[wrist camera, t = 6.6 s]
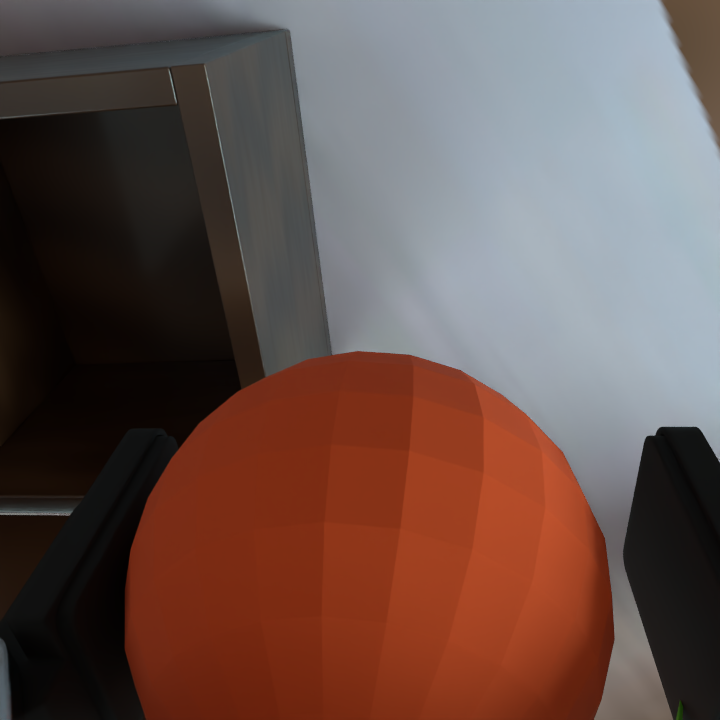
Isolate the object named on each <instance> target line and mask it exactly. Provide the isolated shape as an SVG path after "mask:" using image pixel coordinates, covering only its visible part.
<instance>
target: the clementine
mask: <svg viewBox="0 0 720 720" xmlns="http://www.w3.org/2000/svg"><path fill="white" fill-rule="evenodd" d="M614 639H615V638H614V622H613V606H612V592H611V584H610V575H609V567H608V559H607V551H606V542H605V537H604V535H603V533H602V531H601V529H600V527H599V525H598V523H597V521H596V519H595V517H594V515H593V512H592V510H591V508H590V506H589V504H588V502H587V500H586V498H585V496H584V494H583V492H582V490H581V488H580V486H579V484H578V482H577V480H576V478H575V476H574V474H573V472H572V470H571V468H570V466H569V464H568V462H567V460H566V458H565V456H564V454H563V452H562V451H561V450H560V449H559V448H558V447H557V446H556V445H555V444H554V443H553V442H552V441H551V440H550V439H549V438H548V436H547V435H546V434H545V433H544V432H543V431H542V430H541V429H540V428H539V427H538V426H537V425H536V424H535V423H534V422H533V421H532V420H531V419H530V418H529V417H528V416H527V415H526V414H525V413H524V412H523V411H521V410H520V409H519V408H518V407H516V406H515V405H514V404H513V403H511V402H510V401H509V400H508V399H506V398H505V397H504V396H503V395H501V394H500V393H498V392H496V391H495V390H493V389H491V388H489V387H488V386H486V385H484V384H483V383H481V382H479V381H478V380H476V379H474V378H473V377H471V376H469V375H467V374H466V373H464V372H462V371H461V370H458V369H455V368H452V367H448V366H445V365H442V364H438V363H435V362H432V361H429V360H425V359H422V358H419V357H415V356H412V355H405V354H390V353H376V352H362V351H356V352H350V353H343V354H337V355H331V356H325V357H318V358H312V359H307V360H305V361H302V362H300V363H298V364H295V365H293V366H291V367H289V368H286V369H284V370H282V371H279V372H277V373H275V374H272V375H270V376H268V377H265V378H263V379H261V380H259V381H257V382H256V383H254V384H252V385H250V386H248V387H246V388H244V389H242V390H240V391H238V392H236V393H235V394H234V395H233V396H232V397H230V398H229V399H228V400H227V401H226V402H224V403H223V404H222V405H221V406H219V407H218V408H217V409H216V410H215V411H213V412H212V413H211V414H210V415H209V416H207V417H206V418H205V419H204V420H203V421H201V422H200V423H199V424H198V425H197V427H196V428H195V429H194V431H193V432H192V433H191V434H190V436H189V437H188V438H187V439H186V441H185V442H184V443H183V444H182V446H181V447H180V448H179V450H178V451H177V452H176V453H175V455H174V456H173V457H172V458H171V460H170V462H169V463H168V465H167V467H166V468H165V470H164V472H163V473H162V475H161V477H160V478H159V480H158V482H157V483H156V485H155V487H154V488H153V490H152V492H151V494H150V495H149V497H148V499H147V502H146V505H145V508H144V511H143V514H142V517H141V520H140V523H139V526H138V529H137V532H136V535H135V538H134V541H133V544H132V547H131V550H130V557H129V564H128V571H127V578H126V585H125V652H126V656H127V660H128V663H129V667H130V670H131V674H132V678H133V681H134V685H135V688H136V691H137V694H138V697H139V700H140V703H141V706H142V709H143V712H144V715H145V718H146V720H594V717H595V715H596V712H597V710H598V707H599V705H600V702H601V699H602V695H603V690H604V685H605V681H606V676H607V671H608V667H609V662H610V658H611V653H612V648H613V644H614ZM682 717H683V705H682V703H681V700H680V702H679V707H678V712H677V717H676V720H682Z"/></svg>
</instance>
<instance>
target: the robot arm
mask: <svg viewBox="0 0 720 720" xmlns="http://www.w3.org/2000/svg"><path fill="white" fill-rule="evenodd" d="M178 450H179V449H178V446H177V442H176V440H175V438H174V437H172V436H167V434H166V432H165V431H164V430H163V429H160V428H140V429H130V430H128V432H127V433H126V434H125V435H124V437H123V439H122V440H121V442H120V443H119V445H118V446H117V448H116V449H115V451H114V452H113V454H112V455H111V457H110V458H109V460H108V461H107V463H106V465H105V466H104V468H103V469H102V471H101V472H100V474H99V475H98V477H97V478H96V480H95V481H94V483H93V484H92V486H91V487H90V489H89V491H88V492H87V494H86V495H85V497H84V498H83V500H82V501H81V503H80V504H78V506H77V507H76V508H75V509H74V510H73V512H72V513H71V515H70V516H69V518H68V519H67V521H66V522H65V524H64V525H63V527H62V528H61V530H60V531H59V533H58V535H57V536H56V538H55V539H54V541H53V542H52V544H51V545H50V547H49V548H48V550H47V551H46V553H45V554H44V556H43V557H42V559H41V560H40V562H39V563H38V565H37V566H36V568H35V570H34V571H33V573H32V574H31V576H30V577H29V579H28V580H27V582H26V583H25V585H24V586H23V588H22V589H21V591H20V592H19V594H18V595H17V597H16V598H15V600H14V601H13V603H12V604H11V606H10V608H9V609H8V611H7V612H6V614H5V615H4V617H3V618H2V620H1V621H0V720H142V718H143V715H144V712H143V709H142V706H141V703H140V700H139V697H138V694H137V691H136V688H135V685H134V681H133V678H132V674H131V670H130V667H129V663H128V660H127V656H126V652H125V585H126V578H127V571H128V564H129V557H130V550H131V547H132V544H133V541H134V538H135V535H136V532H137V529H138V526H139V523H140V520H141V517H142V514H143V511H144V508H145V505H146V502H147V499H148V497H149V495H150V494H151V492H152V490H153V488H154V487H155V485H156V483H157V482H158V480H159V478H160V477H161V475H162V473H163V472H164V470H165V468H166V467H167V465H168V463H169V462H170V460H171V458H172V457H173V456H174V455H175V453H176V452H177V451H178ZM623 559H624V566H625V570H626V573H627V576H628V579H629V583H630V586H631V589H632V592H633V595H634V598H635V601H636V604H637V608H638V611H639V614H640V617H641V620H642V623H643V626H644V629H645V632H646V636H647V639H648V642H649V645H650V648H651V651H652V654H653V657H654V660H655V664H656V667H657V670H658V673H659V676H660V679H661V682H662V685H663V688H664V692H665V695H666V698H667V701H668V704H669V707H670V710H671V713H672V716H673V720H676V717H677V712H678V707H679V702H680V700H681V703H682V705H683V717H682V720H720V462H719V461H718V459H717V457H716V456H715V454H714V452H713V450H712V449H711V447H710V445H709V444H708V442H707V440H706V438H705V437H704V435H703V433H702V432H701V430H700V429H699V428H697V427H660V428H659V429H658V430H657V432H656V436H647V437H646V439H645V442H644V446H643V451H642V456H641V461H640V466H639V471H638V476H637V481H636V487H635V492H634V497H633V502H632V507H631V512H630V517H629V522H628V527H627V532H626V537H625V542H624V548H623Z"/></svg>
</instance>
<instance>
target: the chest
mask: <svg viewBox="0 0 720 720" xmlns="http://www.w3.org/2000/svg"><path fill="white" fill-rule="evenodd" d="M331 355H332V353H331V345H330V337H329V330H328V322H327V314H326V306H325V299H324V291H323V283H322V276H321V268H320V260H319V252H318V245H317V237H316V229H315V222H314V214H313V206H312V198H311V191H310V183H309V175H308V167H307V160H306V152H305V144H304V137H303V129H302V121H301V113H300V106H299V98H298V90H297V83H296V75H295V67H294V59H293V52H292V44H291V36H290V31H289V30H288V29H287V30H276V31H266V32H255V33H244V34H234V35H223V36H213V37H202V38H191V39H181V40H170V41H160V42H149V43H138V44H128V45H117V46H107V47H96V48H85V49H75V50H64V51H54V52H43V53H32V54H22V55H11V56H1V57H0V513H72V512H73V510H74V509H75V508H76V507H77V506H78V504H80V503H81V501H82V500H83V498H84V497H85V495H86V494H87V492H88V491H89V489H90V487H91V486H92V484H93V483H94V481H95V480H96V478H97V477H98V475H99V474H100V472H101V471H102V469H103V468H104V466H105V465H106V463H107V461H108V460H109V458H110V457H111V455H112V454H113V452H114V451H115V449H116V448H117V446H118V445H119V443H120V442H121V440H122V439H123V437H124V435H125V434H126V433H127V432H128V430H130V429H140V428H160V429H163V430H164V431H165V432H166V434H167V436H172V437H174V438H175V440H176V442H177V446H178V449H179V448H180V447H181V446H182V444H183V443H184V442H185V441H186V439H187V438H188V437H189V436H190V434H191V433H192V432H193V431H194V429H195V428H196V427H197V425H198V424H199V423H200V422H201V421H203V420H204V419H205V418H206V417H207V416H209V415H210V414H211V413H212V412H213V411H215V410H216V409H217V408H218V407H219V406H221V405H222V404H223V403H224V402H226V401H227V400H228V399H229V398H230V397H232V396H233V395H234V394H235V393H236V392H238V391H240V390H242V389H244V388H246V387H248V386H250V385H252V384H254V383H256V382H257V381H259V380H261V379H263V378H265V377H268V376H270V375H272V374H275V373H277V372H279V371H282V370H284V369H286V368H289V367H291V366H293V365H295V364H298V363H300V362H302V361H305V360H307V359H312V358H318V357H325V356H331Z"/></svg>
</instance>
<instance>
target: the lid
mask: <svg viewBox="0 0 720 720" xmlns="http://www.w3.org/2000/svg"><path fill="white" fill-rule="evenodd" d="M68 518H69V516H55V515H0V621H1V620H2V618H3V617H4V615H5V614H6V612H7V611H8V609H9V608H10V606H11V604H12V603H13V601H14V600H15V598H16V597H17V595H18V594H19V592H20V591H21V589H22V588H23V586H24V585H25V583H26V582H27V580H28V579H29V577H30V576H31V574H32V573H33V571H34V570H35V568H36V566H37V565H38V563H39V562H40V560H41V559H42V557H43V556H44V554H45V553H46V551H47V550H48V548H49V547H50V545H51V544H52V542H53V541H54V539H55V538H56V536H57V535H58V533H59V531H60V530H61V528H62V527H63V525H64V524H65V522H66V521H67V519H68ZM142 720H146V718H145V715H143V718H142Z"/></svg>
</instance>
